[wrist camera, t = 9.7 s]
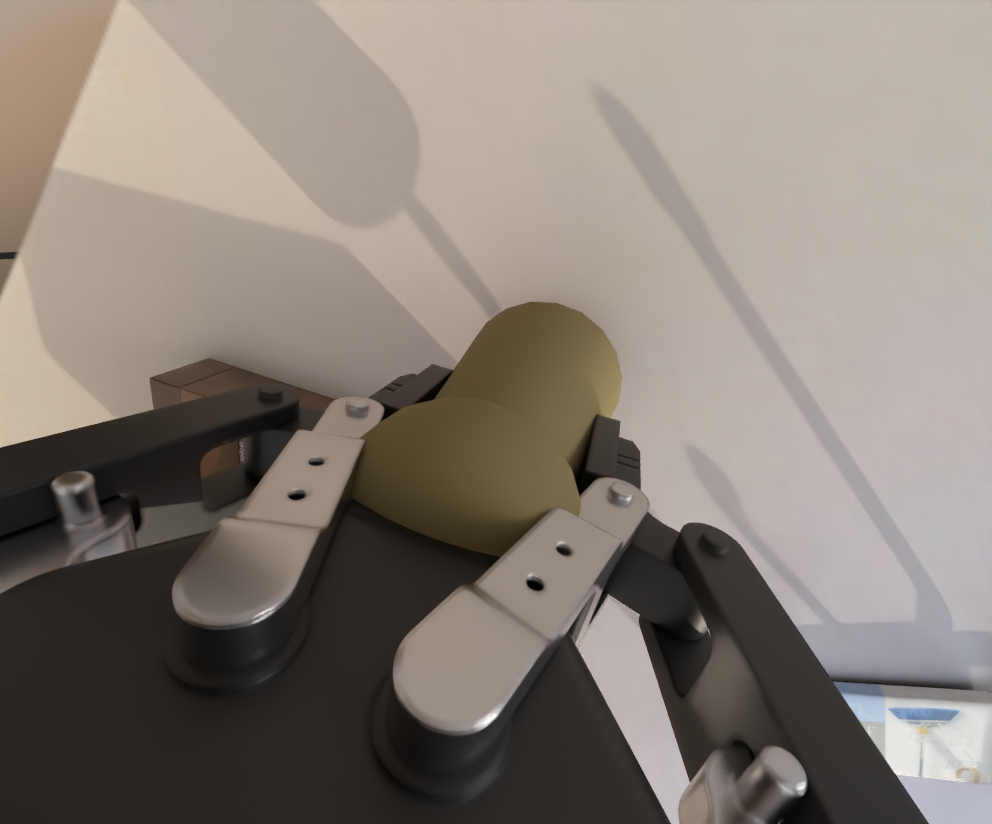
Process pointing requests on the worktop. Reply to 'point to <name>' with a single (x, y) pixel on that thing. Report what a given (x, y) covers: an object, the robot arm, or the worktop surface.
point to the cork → (496, 432)
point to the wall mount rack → (927, 729)
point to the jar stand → (211, 381)
